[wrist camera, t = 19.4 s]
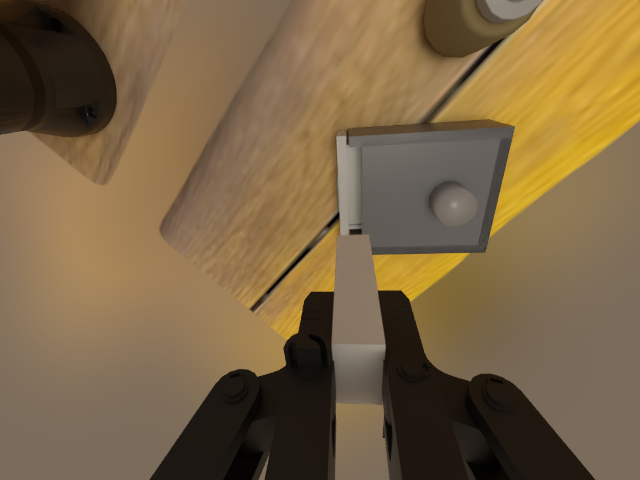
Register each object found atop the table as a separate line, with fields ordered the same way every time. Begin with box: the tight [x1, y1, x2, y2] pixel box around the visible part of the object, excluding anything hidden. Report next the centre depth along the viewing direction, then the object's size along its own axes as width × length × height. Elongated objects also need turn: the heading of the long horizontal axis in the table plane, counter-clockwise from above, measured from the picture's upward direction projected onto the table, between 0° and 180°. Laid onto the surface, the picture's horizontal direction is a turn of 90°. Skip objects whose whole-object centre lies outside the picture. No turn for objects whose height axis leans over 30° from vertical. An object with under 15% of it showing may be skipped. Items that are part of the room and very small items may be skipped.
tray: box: [336, 131, 362, 235], centre depth 40 cm, size 16×18×4 cm
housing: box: [348, 120, 515, 255], centre depth 38 cm, size 16×18×10 cm
